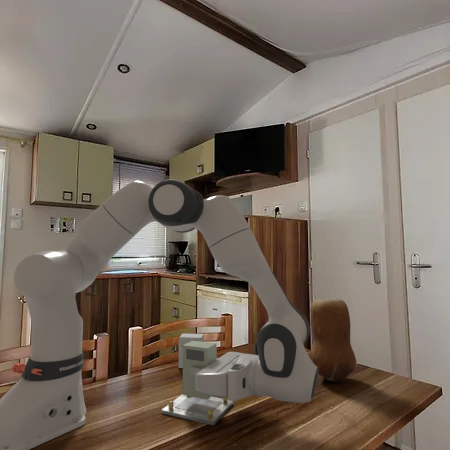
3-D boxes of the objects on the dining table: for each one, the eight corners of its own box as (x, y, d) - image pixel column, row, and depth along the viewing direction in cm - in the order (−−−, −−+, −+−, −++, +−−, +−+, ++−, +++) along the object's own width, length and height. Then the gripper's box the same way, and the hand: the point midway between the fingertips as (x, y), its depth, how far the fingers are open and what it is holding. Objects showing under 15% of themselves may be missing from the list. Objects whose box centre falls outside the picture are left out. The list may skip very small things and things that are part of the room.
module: (207, 399, 80) (207, 348, 81) (182, 394, 83) (182, 345, 84) (216, 391, 85) (216, 343, 86) (192, 387, 87) (192, 340, 88)
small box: (204, 364, 117) (204, 333, 118) (201, 369, 111) (201, 337, 112) (181, 363, 118) (182, 333, 119) (178, 368, 112) (178, 336, 113)
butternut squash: (322, 369, 113) (320, 294, 115) (362, 379, 104) (360, 298, 106) (302, 380, 102) (301, 298, 104) (345, 393, 93) (343, 302, 96)
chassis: (213, 425, 75) (213, 414, 75) (161, 413, 81) (161, 403, 81) (233, 403, 86) (233, 394, 86) (186, 394, 92) (186, 385, 92)
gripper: (260, 348, 89) (214, 343, 94) (232, 373, 70) (175, 365, 76) (260, 373, 88) (213, 366, 94) (232, 405, 70) (175, 394, 75)
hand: (196, 366), depth 85 cm, fingers closed on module, 5 cm apart
